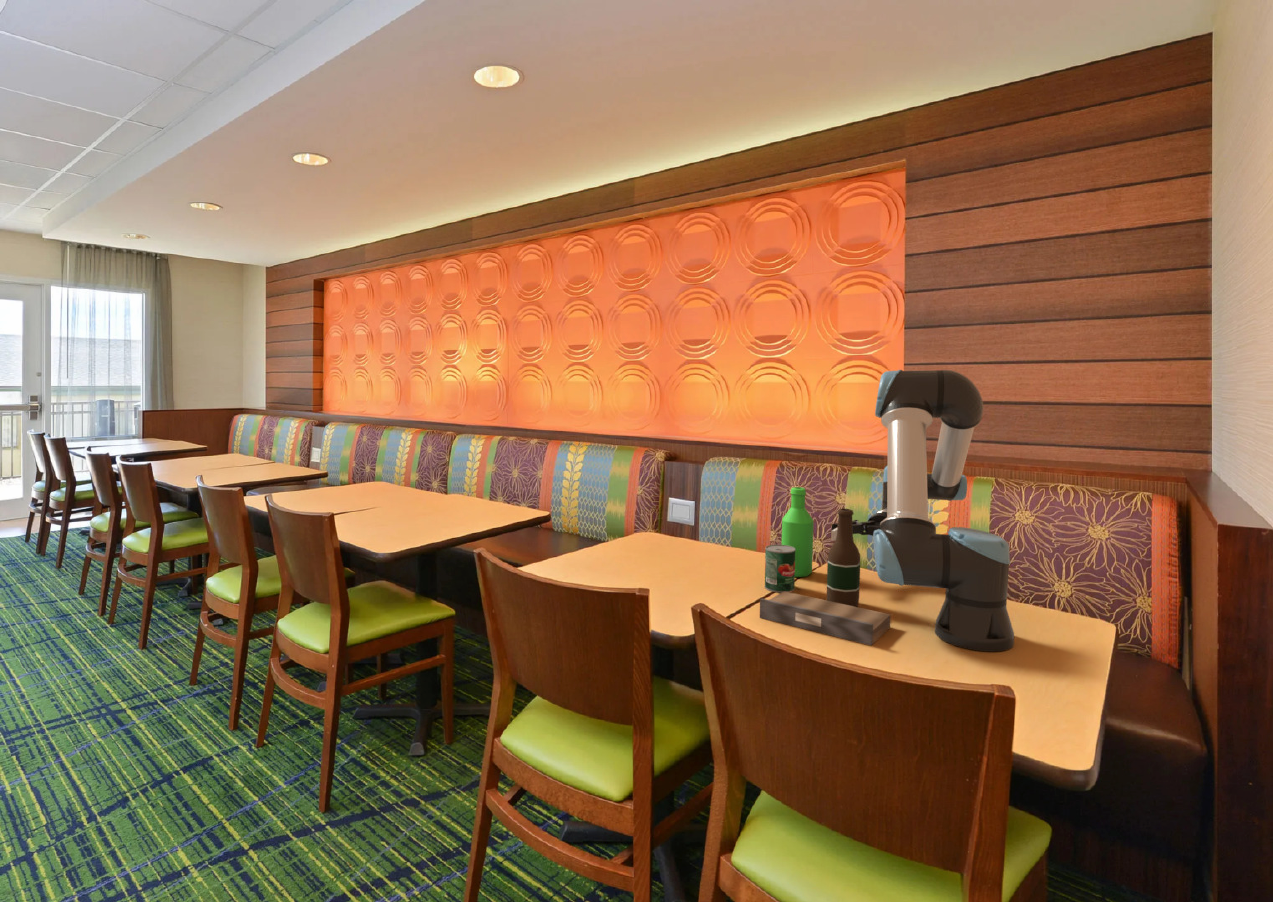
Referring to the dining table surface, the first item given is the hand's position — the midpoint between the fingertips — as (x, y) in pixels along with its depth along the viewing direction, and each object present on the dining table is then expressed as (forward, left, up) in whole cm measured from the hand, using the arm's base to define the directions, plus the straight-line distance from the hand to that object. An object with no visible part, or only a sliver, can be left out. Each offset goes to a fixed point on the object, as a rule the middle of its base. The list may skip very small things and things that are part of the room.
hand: (858, 539), depth 166 cm
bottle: (+20, -7, -15) cm, 26 cm away
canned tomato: (+18, +8, -15) cm, 24 cm away
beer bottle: (0, +10, -15) cm, 18 cm away
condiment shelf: (-1, +24, -14) cm, 28 cm away
